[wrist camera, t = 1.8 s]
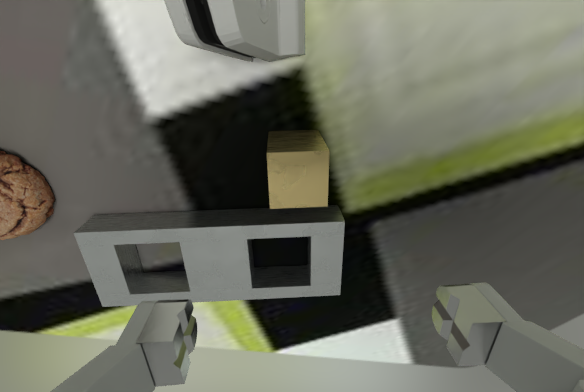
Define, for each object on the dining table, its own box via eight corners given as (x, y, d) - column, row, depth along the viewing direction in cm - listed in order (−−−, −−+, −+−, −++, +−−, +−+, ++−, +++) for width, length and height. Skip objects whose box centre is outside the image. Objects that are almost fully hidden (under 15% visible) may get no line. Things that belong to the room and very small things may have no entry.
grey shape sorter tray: (338, 205, 27) (344, 221, 25) (334, 273, 31) (340, 294, 28) (94, 214, 27) (73, 232, 24) (118, 284, 30) (102, 306, 27)
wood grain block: (317, 129, 24) (329, 150, 19) (316, 175, 26) (327, 206, 21) (268, 131, 24) (266, 152, 19) (271, 176, 26) (269, 208, 20)
